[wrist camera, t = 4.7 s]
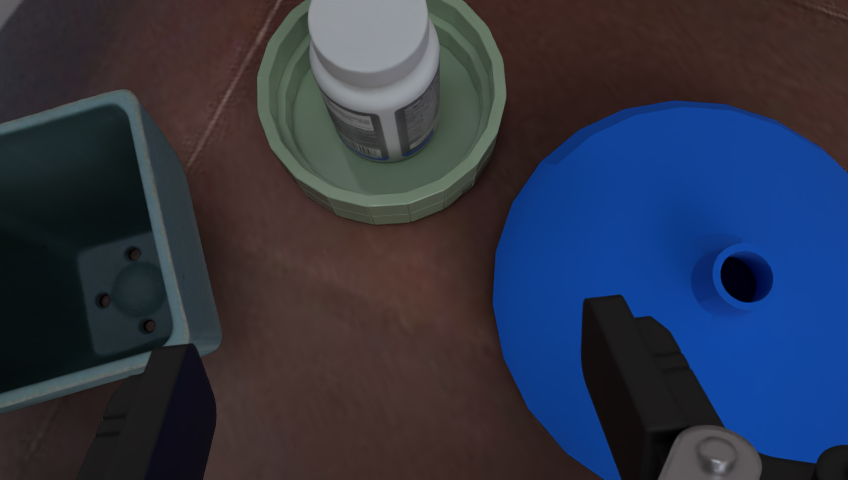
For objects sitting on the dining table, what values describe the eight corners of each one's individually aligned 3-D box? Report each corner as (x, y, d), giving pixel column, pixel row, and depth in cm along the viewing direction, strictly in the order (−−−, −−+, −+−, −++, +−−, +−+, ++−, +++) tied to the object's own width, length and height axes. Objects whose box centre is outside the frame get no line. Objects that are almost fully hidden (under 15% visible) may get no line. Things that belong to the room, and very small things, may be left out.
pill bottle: (424, 54, 31) (420, -66, 23) (451, 149, 30) (458, 60, 22) (321, 80, 31) (281, -31, 23) (346, 177, 30) (313, 97, 22)
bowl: (320, 260, 30) (305, 243, 26) (246, 62, 32) (224, 23, 28) (533, 177, 31) (545, 151, 27) (448, -12, 33) (449, -59, 29)
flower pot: (59, 424, 29) (-107, 440, 20) (24, 225, 30) (-143, 159, 22) (265, 363, 29) (192, 352, 20) (219, 170, 31) (133, 83, 22)
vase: (474, 136, 31) (486, 64, 24) (828, 118, 31) (941, 40, 24) (500, 509, 28) (521, 549, 21) (896, 490, 28) (1050, 524, 21)
